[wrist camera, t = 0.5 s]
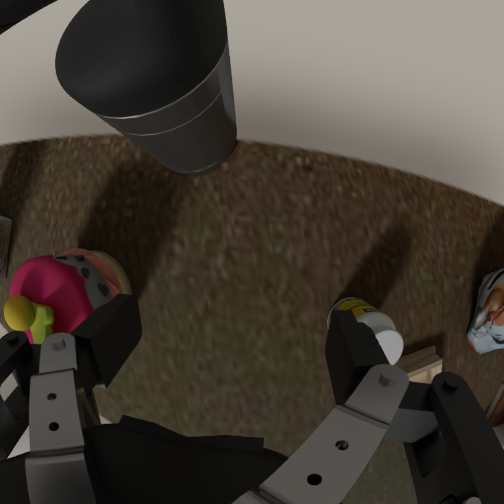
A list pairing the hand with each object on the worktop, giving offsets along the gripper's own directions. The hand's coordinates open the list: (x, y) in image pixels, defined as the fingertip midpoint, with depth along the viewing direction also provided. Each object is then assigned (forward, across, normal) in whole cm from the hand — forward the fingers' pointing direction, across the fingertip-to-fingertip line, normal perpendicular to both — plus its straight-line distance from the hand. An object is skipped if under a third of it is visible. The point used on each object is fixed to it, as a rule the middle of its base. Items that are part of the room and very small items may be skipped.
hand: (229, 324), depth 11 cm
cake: (+16, +19, +8) cm, 26 cm away
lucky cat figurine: (+21, -35, +10) cm, 42 cm away
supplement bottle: (+19, -11, +10) cm, 24 cm away
